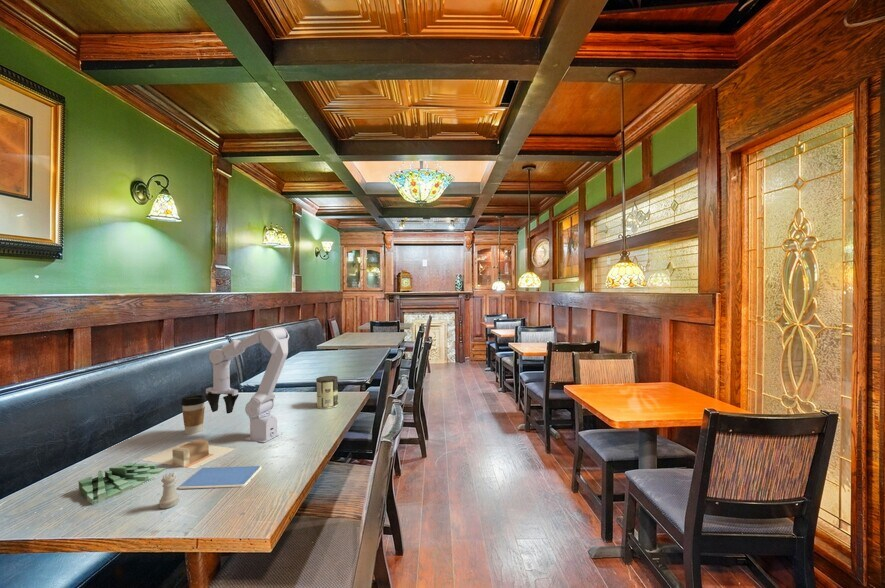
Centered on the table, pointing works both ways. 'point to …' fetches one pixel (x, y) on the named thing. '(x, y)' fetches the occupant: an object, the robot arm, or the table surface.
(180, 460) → the two tone block
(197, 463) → the mat
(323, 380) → the coffee can
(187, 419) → the coffee cup
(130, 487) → the money
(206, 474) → the tablet computer
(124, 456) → the table surface
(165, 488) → the rook chess piece
